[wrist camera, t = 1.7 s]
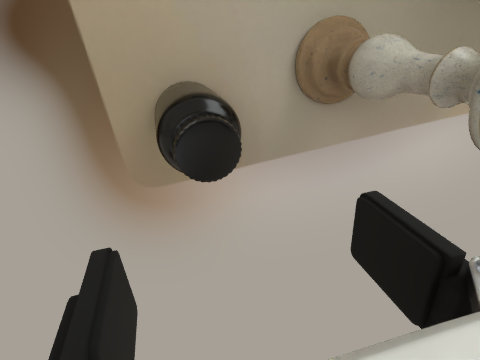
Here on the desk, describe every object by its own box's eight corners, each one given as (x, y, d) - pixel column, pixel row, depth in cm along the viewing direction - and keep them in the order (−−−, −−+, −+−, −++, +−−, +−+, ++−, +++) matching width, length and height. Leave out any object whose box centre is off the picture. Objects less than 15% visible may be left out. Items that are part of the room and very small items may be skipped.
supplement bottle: (228, 131, 32) (266, 176, 22) (170, 154, 32) (181, 211, 21) (208, 69, 29) (240, 87, 19) (142, 93, 28) (138, 125, 18)
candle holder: (365, 6, 31) (655, -35, 13) (366, 89, 35) (586, 143, 17) (288, 28, 29) (494, 15, 12) (299, 111, 34) (463, 192, 16)
